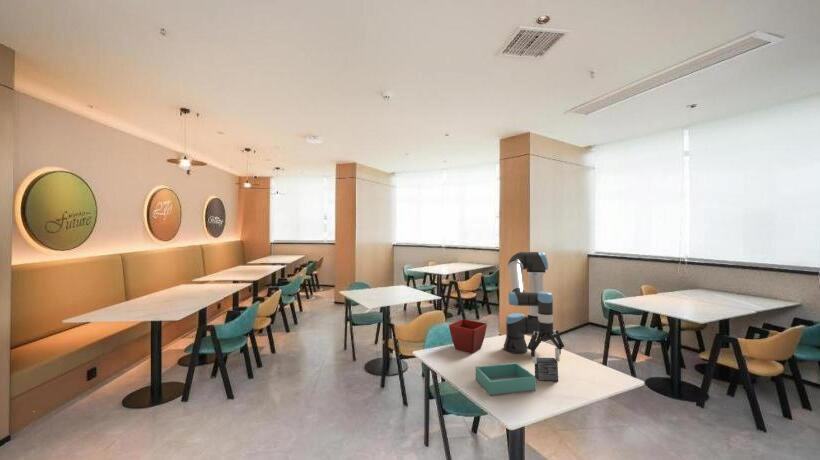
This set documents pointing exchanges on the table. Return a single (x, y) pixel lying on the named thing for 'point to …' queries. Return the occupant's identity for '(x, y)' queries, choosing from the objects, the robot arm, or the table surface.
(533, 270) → the robot arm
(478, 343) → the plant pot
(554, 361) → the small box
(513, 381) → the bin
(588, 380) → the table surface
